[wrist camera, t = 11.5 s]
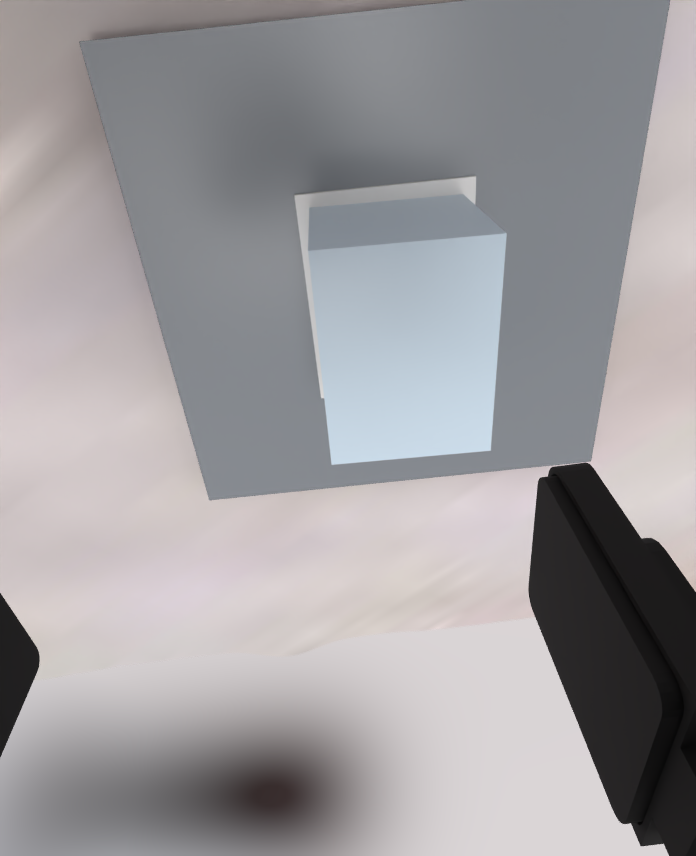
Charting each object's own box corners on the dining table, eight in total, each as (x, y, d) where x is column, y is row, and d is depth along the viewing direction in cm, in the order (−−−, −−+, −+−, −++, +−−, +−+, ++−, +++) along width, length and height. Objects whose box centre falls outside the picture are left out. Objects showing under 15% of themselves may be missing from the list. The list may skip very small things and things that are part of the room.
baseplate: (90, 42, 20) (77, 41, 19) (655, -18, 20) (677, -23, 19) (212, 486, 31) (208, 502, 30) (581, 448, 31) (592, 463, 30)
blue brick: (309, 207, 22) (308, 250, 17) (463, 194, 22) (506, 233, 17) (328, 388, 27) (331, 464, 22) (457, 376, 27) (490, 450, 22)
